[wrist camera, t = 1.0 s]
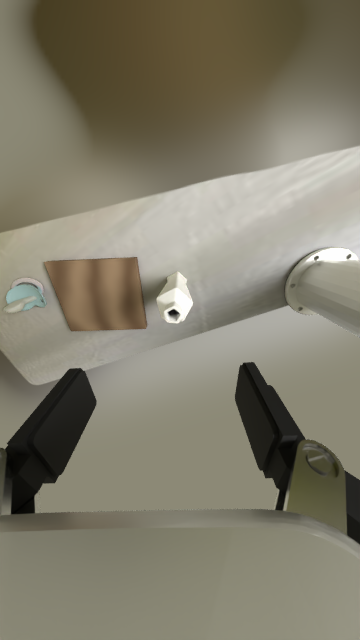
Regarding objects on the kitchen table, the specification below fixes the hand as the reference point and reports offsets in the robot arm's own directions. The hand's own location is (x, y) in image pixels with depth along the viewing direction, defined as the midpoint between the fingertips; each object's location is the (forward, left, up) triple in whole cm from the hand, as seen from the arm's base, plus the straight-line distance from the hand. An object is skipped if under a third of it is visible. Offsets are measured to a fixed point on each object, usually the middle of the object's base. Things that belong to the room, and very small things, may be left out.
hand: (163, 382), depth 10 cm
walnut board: (+15, +2, -24) cm, 29 cm away
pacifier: (+29, +1, -25) cm, 38 cm away
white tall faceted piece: (0, 0, -25) cm, 25 cm away
